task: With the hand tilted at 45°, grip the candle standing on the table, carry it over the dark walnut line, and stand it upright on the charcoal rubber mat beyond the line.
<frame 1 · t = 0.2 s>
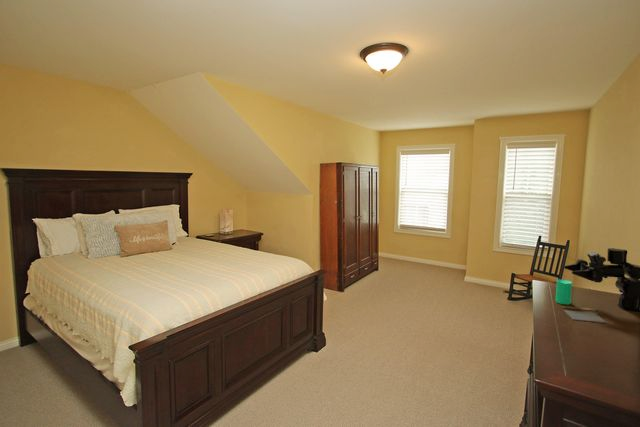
hand: (568, 269, 159), 17 cm above the dresser, tool horizontal, fingers open, 9 cm apart
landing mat: (583, 316, 146), on the dresser
line strip: (579, 308, 154), on the dresser
candle: (562, 302, 162), on the dresser
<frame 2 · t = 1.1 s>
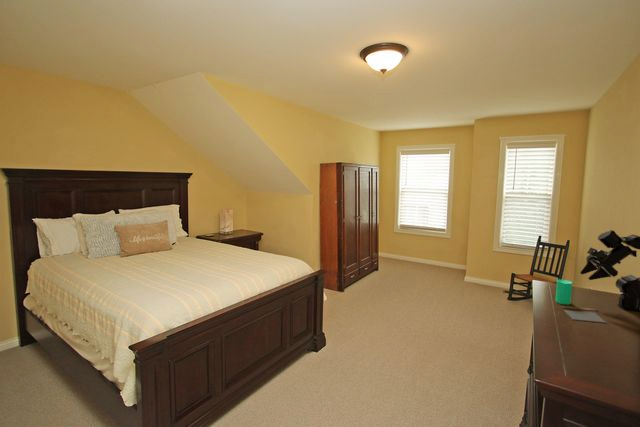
hand: (584, 276, 158), 14 cm above the dresser, tool tilted 45°, fingers open, 9 cm apart
nothing on the dresser moved.
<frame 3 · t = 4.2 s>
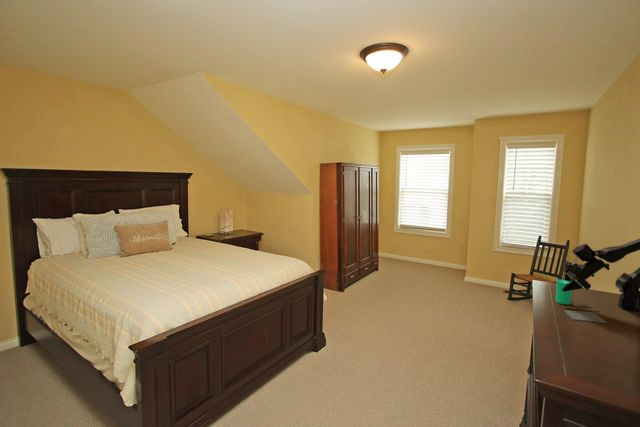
hand: (560, 288, 162), 7 cm above the dresser, tool tilted 45°, fingers closed on candle, 5 cm apart
candle: (562, 302, 162), on the dresser, touching gripper
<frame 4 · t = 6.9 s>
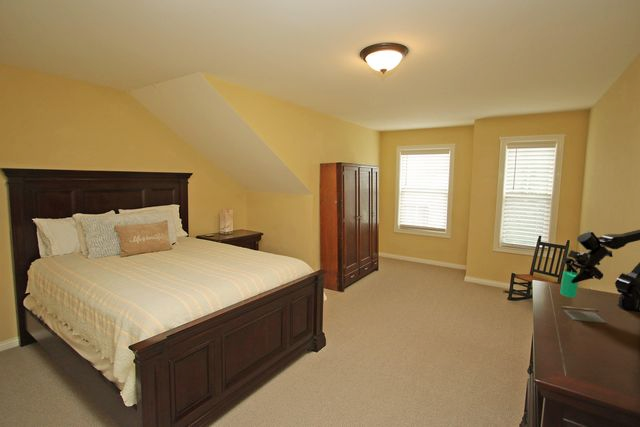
hand: (567, 280, 153), 13 cm above the dresser, tool tilted 45°, fingers closed on candle, 5 cm apart
candle: (567, 294, 155), point 6 cm above the dresser, touching gripper
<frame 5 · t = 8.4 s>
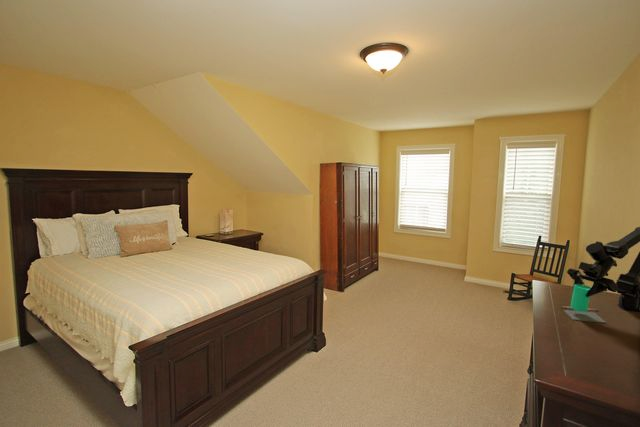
hand: (579, 294, 146), 10 cm above the dresser, tool tilted 45°, fingers closed on candle, 5 cm apart
candle: (578, 308, 148), point 3 cm above the dresser, touching gripper
when the fingers open (8 cm above the dresser, at t = 9.6 s): candle stays where it is, resting on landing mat.
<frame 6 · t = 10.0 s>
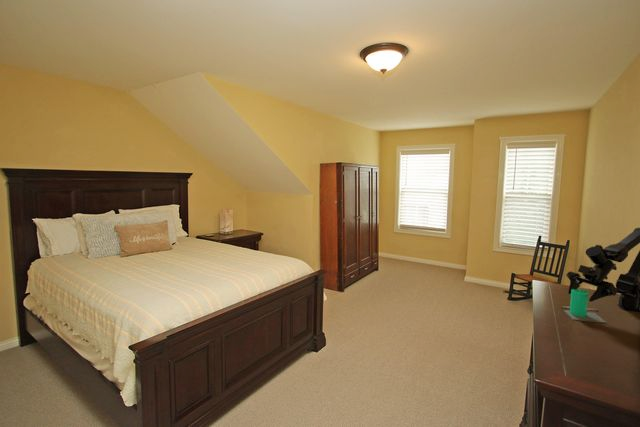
hand: (579, 297, 146), 9 cm above the dresser, tool tilted 45°, fingers open, 9 cm apart
candle: (577, 314, 148), resting on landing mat
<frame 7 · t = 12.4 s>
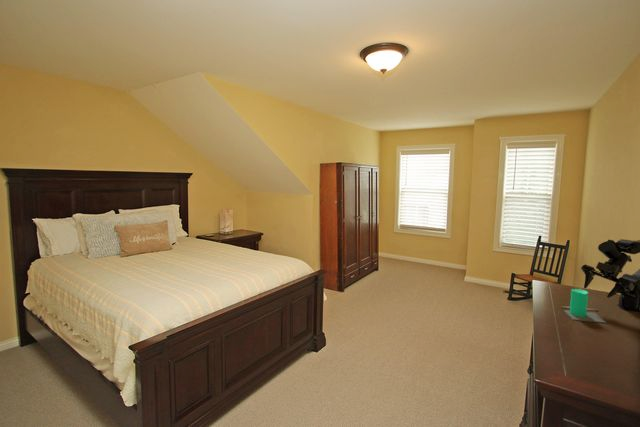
hand: (595, 292, 149), 9 cm above the dresser, tool tilted 35°, fingers open, 9 cm apart
nothing on the dresser moved.
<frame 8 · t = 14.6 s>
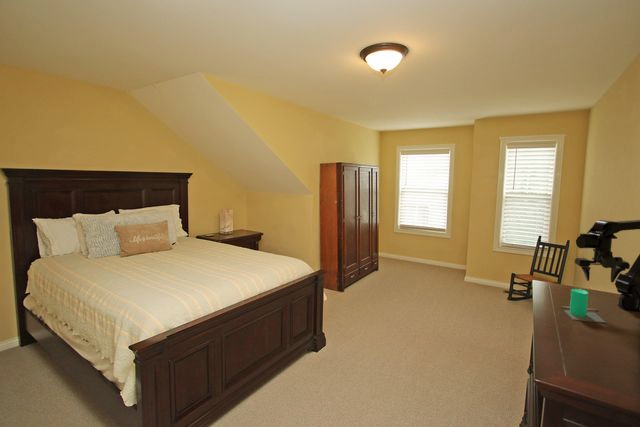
hand: (599, 281, 153), 13 cm above the dresser, tool pointing down, fingers open, 9 cm apart
nothing on the dresser moved.
at the end: candle inside the target area (2.1 cm from its centre), resting on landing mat; candle tilted 0°; the gripper is holding nothing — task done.
